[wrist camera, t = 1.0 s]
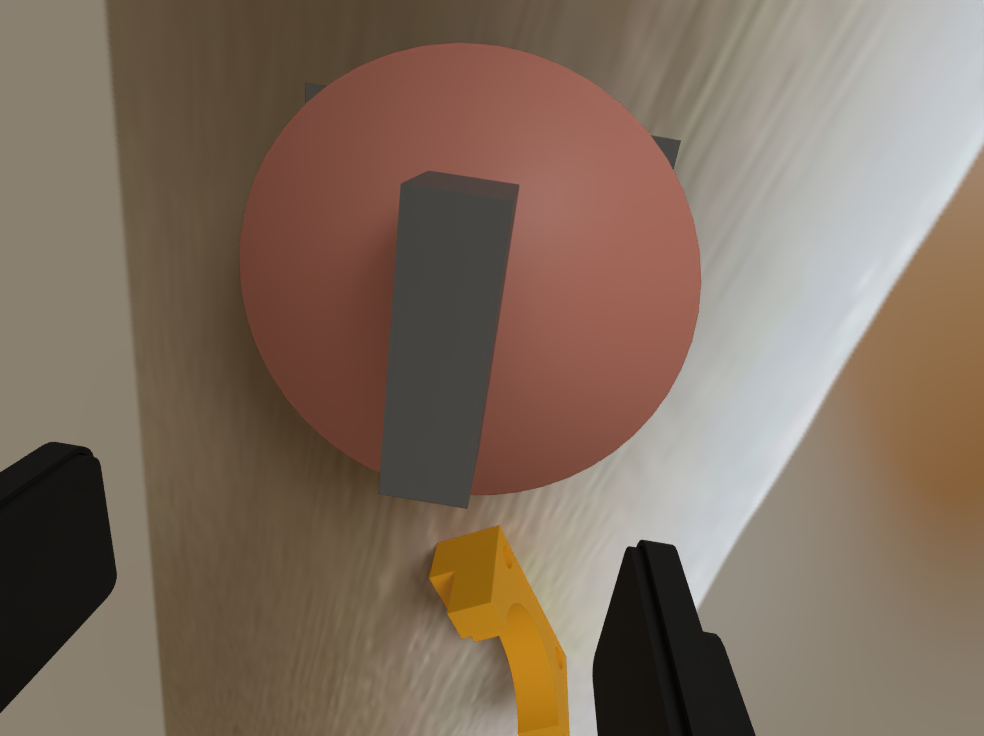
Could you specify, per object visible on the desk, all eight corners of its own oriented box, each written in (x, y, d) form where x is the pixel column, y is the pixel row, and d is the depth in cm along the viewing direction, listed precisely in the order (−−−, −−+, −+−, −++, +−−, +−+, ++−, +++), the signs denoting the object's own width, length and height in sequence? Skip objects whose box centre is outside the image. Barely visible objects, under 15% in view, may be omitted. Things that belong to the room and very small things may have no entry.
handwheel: (245, 10, 20) (101, -41, 14) (756, 88, 20) (861, 74, 13) (258, 446, 28) (169, 549, 21) (632, 508, 27) (660, 633, 21)
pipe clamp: (437, 541, 37) (418, 621, 31) (499, 523, 36) (490, 602, 30) (508, 667, 41) (503, 758, 36) (566, 654, 40) (569, 746, 35)
